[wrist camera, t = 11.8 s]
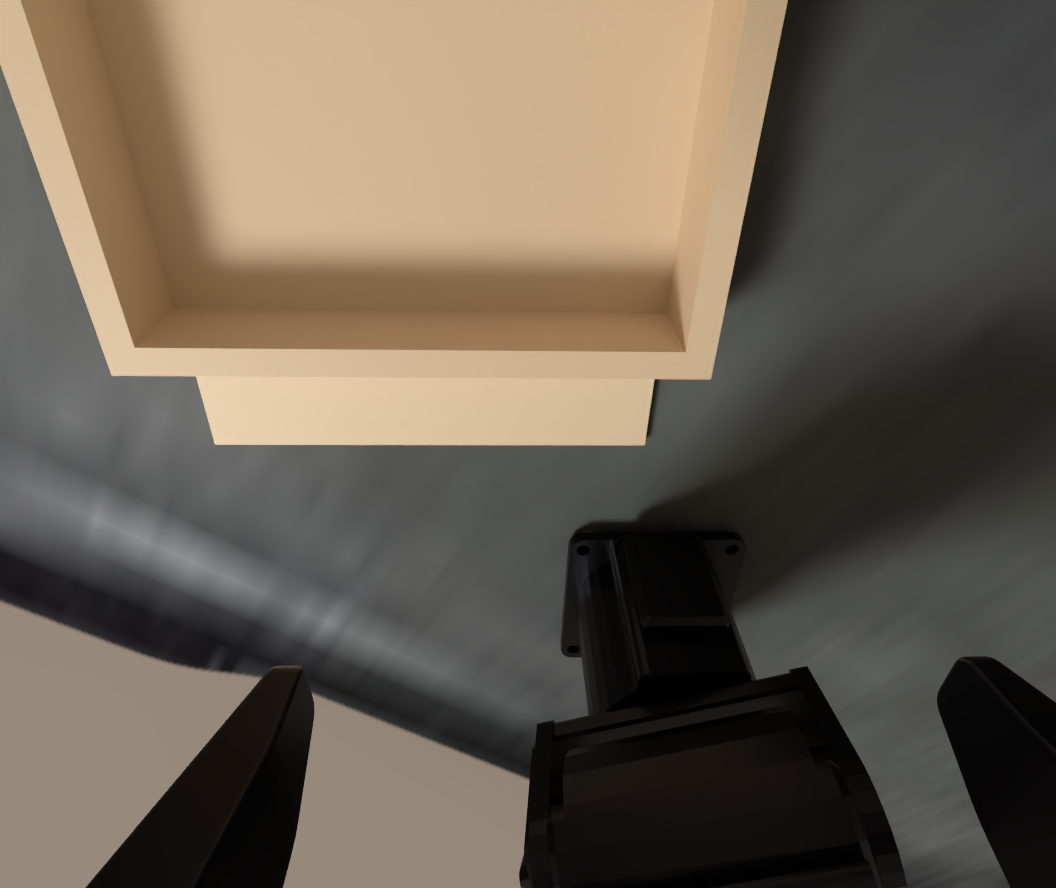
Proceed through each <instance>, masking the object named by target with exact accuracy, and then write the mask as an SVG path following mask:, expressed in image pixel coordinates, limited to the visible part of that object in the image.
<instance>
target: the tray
mask: <svg viewBox="0 0 1056 888" xmlns="http://www.w3.org/2000/svg"><path fill="white" fill-rule="evenodd" d="M787 2H788V0H0V65H1V67H2V70H3V73H4V76H5V79H6V81H7V84H8V87H9V90H10V93H11V95H12V98H13V101H14V104H15V107H16V109H17V112H18V115H19V118H20V121H21V123H22V126H23V129H24V132H25V135H26V137H27V140H28V143H29V146H30V148H31V151H32V154H33V157H34V160H35V162H36V165H37V168H38V171H39V174H40V176H41V179H42V182H43V185H44V188H45V190H46V193H47V196H48V199H49V202H50V204H51V207H52V210H53V213H54V216H55V218H56V221H57V224H58V227H59V230H60V232H61V235H62V238H63V241H64V243H65V246H66V249H67V252H68V255H69V257H70V260H71V263H72V266H73V269H74V271H75V274H76V277H77V280H78V283H79V285H80V288H81V291H82V294H83V297H84V299H85V302H86V305H87V308H88V311H89V313H90V316H91V319H92V322H93V325H94V327H95V330H96V333H97V336H98V338H99V341H100V344H101V347H102V350H103V352H104V355H105V358H106V361H107V364H108V366H109V369H110V372H111V375H112V376H196V378H197V382H198V385H199V389H200V392H201V396H202V400H203V403H204V407H205V410H206V414H207V417H208V421H209V425H210V428H211V432H212V435H213V439H214V443H215V445H645V439H646V433H647V426H648V420H649V413H650V406H651V400H652V393H653V386H654V380H655V379H711V376H712V371H713V366H714V361H715V356H716V351H717V346H718V341H719V336H720V332H721V327H722V322H723V317H724V312H725V307H726V302H727V297H728V292H729V287H730V282H731V277H732V273H733V268H734V263H735V258H736V253H737V248H738V243H739V238H740V233H741V228H742V223H743V218H744V214H745V209H746V204H747V199H748V194H749V189H750V184H751V179H752V174H753V169H754V164H755V159H756V155H757V150H758V145H759V140H760V135H761V130H762V125H763V120H764V115H765V110H766V105H767V100H768V96H769V91H770V86H771V81H772V76H773V71H774V66H775V61H776V56H777V51H778V46H779V42H780V37H781V32H782V27H783V22H784V17H785V12H786V7H787Z"/></svg>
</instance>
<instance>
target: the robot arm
mask: <svg viewBox="0 0 1056 888" xmlns="http://www.w3.org/2000/svg"><path fill="white" fill-rule="evenodd" d="M733 544H734V545H733ZM583 545H585V546H587V547H585V548H578V547H579V546H583ZM729 545H733V546H732V547H728V546H729ZM744 553H745V544H744V541H743V539H742V537H741V536H740V535H739V534H737V533H734V532H660V533H579V534H576V535H574V536H573V537H572V538H571V539H570V541H569V546H568V558H567V570H566V582H565V594H564V606H563V618H562V631H561V650H562V653H563V654H564V655H565V656H567V657H582V665H583V674H584V682H585V690H586V698H587V706H588V714H589V716H585V717H581V718H576V719H571V720H566V721H562V722H557V723H555V722H554V720H553V721H548V722H543V723H539V724H537V732H536V744H535V747H533V749H532V759H531V771H530V784H529V796H528V808H527V821H526V832H525V844H524V856H523V859H522V863H521V867H520V872H519V878H520V885H521V888H907V884H906V879H905V875H904V870H903V866H902V863H901V859H900V855H899V852H898V849H897V846H896V843H895V840H894V836H893V833H892V830H891V828H890V825H889V822H888V820H887V817H886V814H885V812H884V809H883V807H882V804H881V802H880V799H879V797H878V795H877V792H876V790H875V788H874V785H873V783H872V781H871V779H870V777H869V775H868V772H867V771H866V769H865V767H864V765H863V763H862V761H861V759H860V757H859V756H858V754H857V752H856V750H855V749H854V747H853V745H852V743H851V742H850V740H849V738H848V737H847V735H846V733H845V731H844V730H843V728H842V726H841V724H840V723H839V721H838V719H837V717H836V716H835V714H834V712H833V710H832V709H831V707H830V705H829V703H828V702H827V700H826V698H825V696H824V695H823V693H822V691H821V689H820V688H819V686H818V684H817V683H816V681H815V679H814V677H813V676H812V674H811V672H810V670H809V669H808V667H807V666H805V667H800V668H796V669H791V670H789V673H787V674H782V675H778V676H773V677H768V678H763V679H759V680H756V677H755V675H754V672H753V669H752V667H751V664H750V661H749V658H748V656H747V653H746V650H745V648H744V645H743V642H742V639H741V637H740V634H739V631H738V629H737V626H736V623H735V620H734V618H733V615H732V612H731V610H730V607H729V606H730V602H731V599H732V595H733V592H734V588H735V585H736V581H737V578H738V574H739V570H740V567H741V563H742V560H743V556H744ZM937 704H938V709H939V712H940V715H941V718H942V721H943V723H944V726H945V729H946V732H947V735H948V737H949V740H950V743H951V746H952V748H953V751H954V754H955V757H956V759H957V762H958V765H959V768H960V771H961V773H962V776H963V779H964V782H965V784H966V787H967V790H968V793H969V795H970V798H971V801H972V804H973V806H974V809H975V811H976V814H977V816H978V819H979V821H980V823H981V825H982V828H983V830H984V832H985V834H986V837H987V839H988V841H989V843H990V845H991V847H992V849H993V852H994V854H995V856H996V858H997V860H998V862H999V864H1000V866H1001V869H1002V871H1003V873H1004V875H1005V877H1006V879H1007V881H1008V883H1009V885H1010V888H1056V702H1054V701H1053V700H1051V699H1050V698H1049V697H1047V696H1046V695H1045V694H1043V693H1042V692H1040V691H1039V690H1038V689H1036V688H1035V687H1034V686H1032V685H1031V684H1029V683H1028V682H1027V681H1025V680H1024V679H1023V678H1021V677H1020V676H1018V675H1017V674H1016V673H1014V672H1013V671H1012V670H1010V669H1009V668H1007V667H1006V666H1005V665H1003V664H1002V663H1000V662H999V661H997V660H996V659H993V658H991V657H985V656H980V657H962V658H960V659H958V660H957V661H956V662H955V664H954V666H953V667H952V669H951V671H950V672H949V674H948V676H947V677H946V679H945V681H944V682H943V684H942V686H941V687H940V689H939V691H938V695H937ZM313 720H314V702H313V697H312V693H311V689H310V685H309V681H308V677H307V673H306V670H305V669H304V667H302V666H299V665H295V666H275V667H273V668H271V669H270V670H269V671H268V672H267V673H266V674H265V675H264V676H263V678H262V679H261V680H260V681H259V682H258V683H257V685H256V686H255V687H254V689H252V691H251V692H250V693H249V694H248V695H247V697H246V698H245V699H244V700H243V701H242V702H241V704H240V705H239V706H238V707H237V708H236V710H235V711H234V712H233V713H232V714H231V716H230V717H229V718H228V719H227V720H226V721H225V723H224V724H223V725H222V726H221V728H220V729H219V730H218V731H217V732H216V733H215V735H214V736H213V737H212V738H211V739H210V741H209V742H208V743H207V744H206V745H205V747H204V748H203V749H202V750H201V751H200V752H199V754H198V755H197V756H196V757H195V758H194V760H193V761H192V762H191V763H190V764H189V766H188V767H187V768H186V769H185V770H184V771H183V773H182V774H181V775H180V776H179V777H178V779H177V780H176V781H175V782H174V783H173V784H172V786H171V787H170V788H169V789H168V791H167V792H166V793H165V794H164V795H163V796H162V797H161V799H160V800H159V801H158V802H157V803H156V805H155V806H154V807H153V808H152V809H151V811H150V812H149V813H148V814H147V815H146V817H145V818H144V819H143V820H142V821H141V822H140V824H139V825H138V826H137V827H136V828H135V830H134V831H133V832H132V833H131V834H130V836H129V837H128V838H127V839H126V840H125V841H124V843H123V844H122V845H121V846H120V847H119V849H118V850H117V851H116V852H115V853H114V854H113V856H112V857H111V858H110V859H109V860H108V862H107V863H106V864H105V865H104V866H103V868H102V869H101V870H100V871H99V872H98V873H97V875H96V876H95V877H94V878H93V879H92V881H91V882H90V883H89V884H88V886H87V887H86V888H283V885H284V881H285V877H286V873H287V869H288V865H289V861H290V858H291V854H292V850H293V845H294V841H295V837H296V831H297V825H298V819H299V813H300V806H301V800H302V794H303V787H304V780H305V774H306V767H307V760H308V754H309V747H310V740H311V734H312V727H313Z"/></svg>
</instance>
